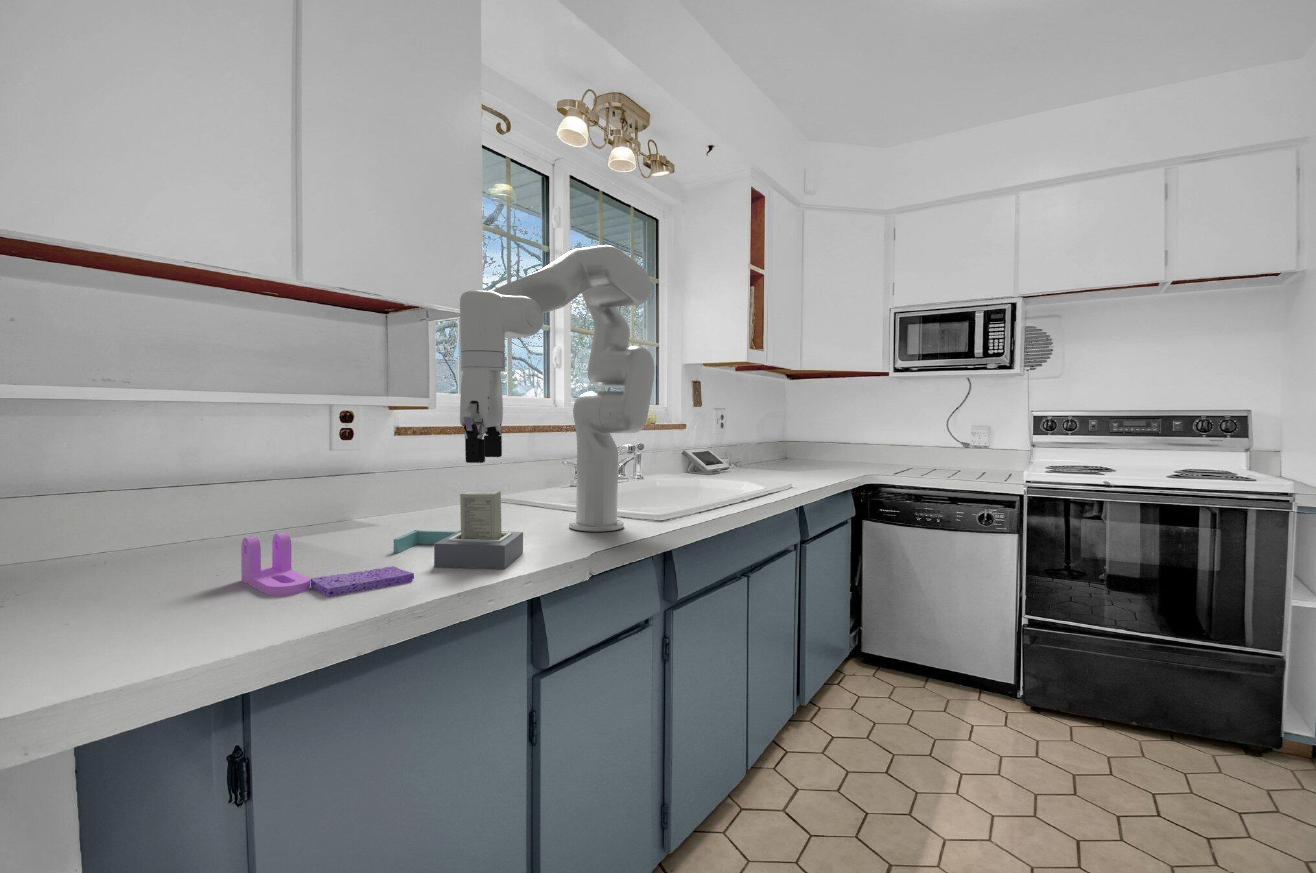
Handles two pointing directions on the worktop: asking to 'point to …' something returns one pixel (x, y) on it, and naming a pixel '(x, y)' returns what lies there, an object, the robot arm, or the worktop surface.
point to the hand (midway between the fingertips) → (484, 459)
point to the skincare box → (481, 515)
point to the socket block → (478, 551)
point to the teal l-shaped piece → (419, 539)
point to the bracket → (274, 578)
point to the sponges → (360, 581)
